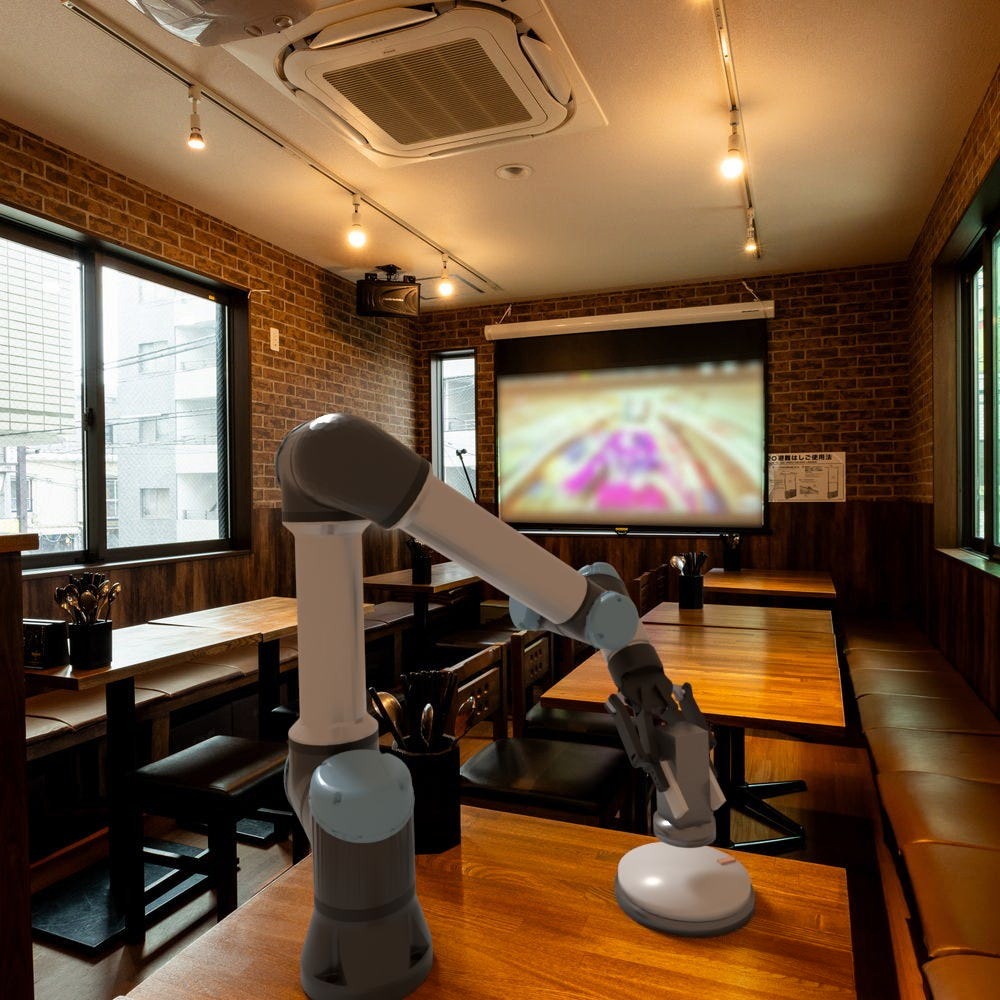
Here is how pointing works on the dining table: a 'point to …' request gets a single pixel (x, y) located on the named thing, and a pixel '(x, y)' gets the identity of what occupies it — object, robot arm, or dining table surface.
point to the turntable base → (686, 927)
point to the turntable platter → (684, 882)
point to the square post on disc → (685, 786)
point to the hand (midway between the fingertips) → (700, 809)
